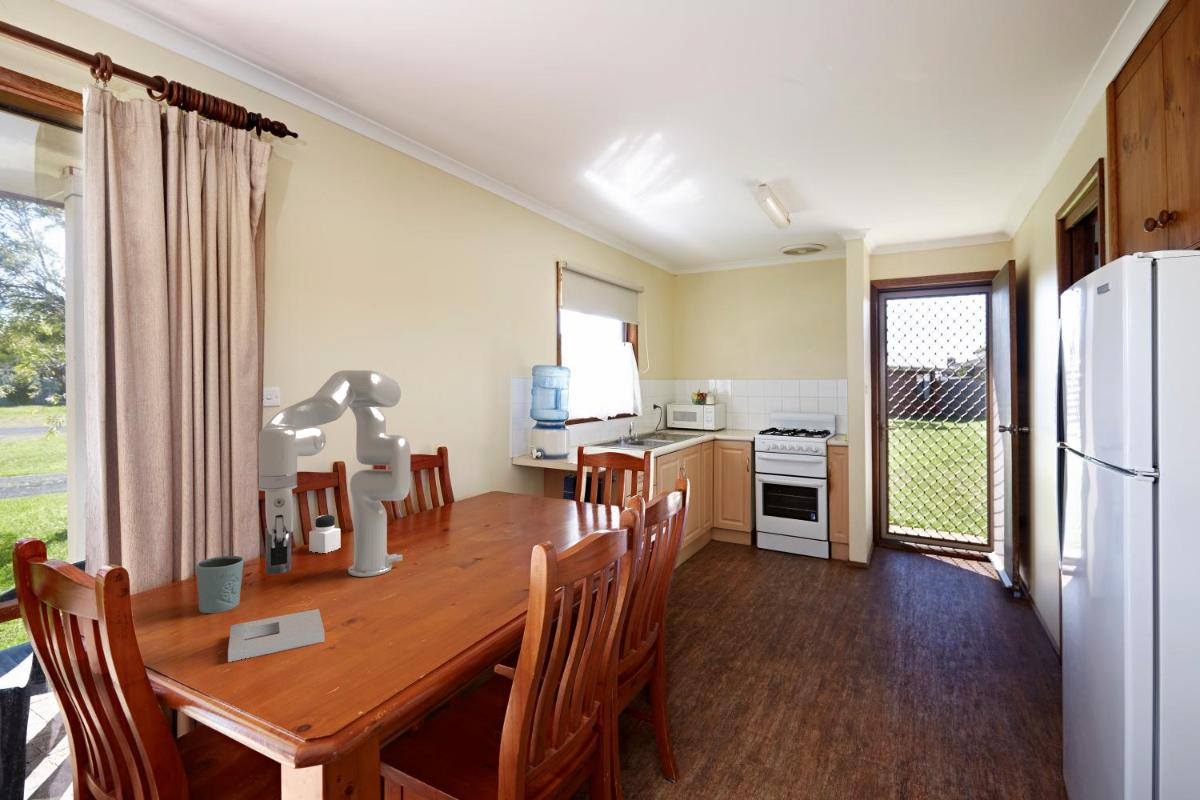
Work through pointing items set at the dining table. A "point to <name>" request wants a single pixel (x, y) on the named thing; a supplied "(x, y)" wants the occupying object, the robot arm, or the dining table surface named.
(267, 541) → the dark grey peg block
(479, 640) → the dining table surface
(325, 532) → the medicine bottle
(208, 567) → the teal embossed planter pot
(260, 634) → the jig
